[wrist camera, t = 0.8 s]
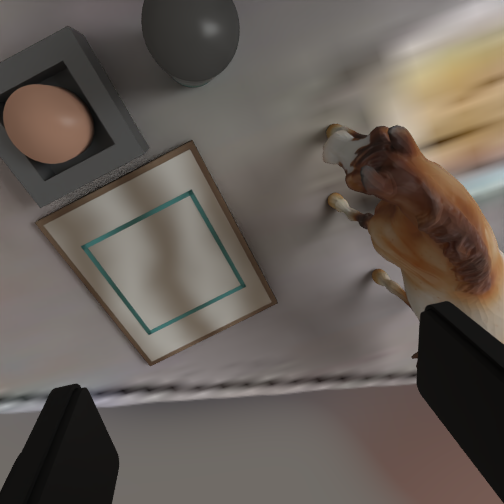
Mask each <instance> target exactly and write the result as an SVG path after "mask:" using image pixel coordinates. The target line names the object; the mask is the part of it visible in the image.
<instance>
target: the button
mask: <svg viewBox="0 0 504 504" xmlns="http://www.w3.org/2000/svg"><path fill="white" fill-rule="evenodd" d="M3 121H4V126H5V129H6V132H7V134H8V136H9V138H10V140H11V141H12V143H13V144H14V145H15V146H16V147H17V148H18V149H19V150H20V151H21V152H22V153H23V154H25V155H26V156H28V157H29V158H31V159H33V160H36V161H39V162H42V163H48V164H57V163H62V162H65V161H68V160H70V159H72V158H74V157H76V156H78V155H80V154H82V153H83V152H84V151H85V150H86V149H87V148H88V147H89V146H90V144H91V142H92V140H93V136H94V121H93V117H92V115H91V112H90V110H89V109H88V107H87V106H86V104H85V103H84V102H83V101H82V100H81V99H80V98H79V97H78V96H77V95H76V94H74V93H73V92H71V91H69V90H67V89H65V88H62V87H58V86H50V85H41V84H32V85H27V86H23V87H21V88H19V89H17V90H16V91H14V92H13V93H12V94H11V95H10V97H9V98H8V100H7V102H6V104H5V107H4V111H3Z"/></svg>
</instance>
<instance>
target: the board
mask: <svg viewBox="0 0 504 504" xmlns="http://www.w3.org/2000/svg"><path fill="white" fill-rule="evenodd" d="M35 224H36V225H37V226H38V227H39V229H40V230H41V231H42V232H43V234H44V235H45V236H46V237H47V239H48V240H49V241H50V242H51V244H52V245H53V246H54V247H55V249H56V250H57V251H58V252H59V254H60V255H61V256H62V257H63V259H64V260H65V261H66V262H67V263H68V265H69V266H70V267H71V268H72V270H73V271H74V272H75V273H76V275H77V276H78V277H79V278H80V280H81V281H82V282H83V283H84V285H85V286H86V287H87V288H88V290H89V291H90V292H91V293H92V295H93V296H94V297H95V298H96V300H97V301H98V302H99V303H100V304H101V306H102V307H103V308H104V309H105V311H106V312H107V313H108V314H109V316H110V317H111V318H112V319H113V321H114V322H115V323H116V324H117V326H118V327H119V328H120V329H121V331H122V332H123V333H124V334H125V336H126V337H127V338H128V339H129V341H130V342H131V343H132V344H133V346H134V347H135V348H136V349H137V350H138V352H139V353H140V354H141V355H142V357H143V358H144V359H145V360H146V362H147V363H148V364H149V365H150V366H152V365H154V364H156V363H158V362H160V361H162V360H164V359H166V358H168V357H170V356H172V355H174V354H176V353H178V352H180V351H182V350H184V349H186V348H188V347H190V346H192V345H194V344H196V343H198V342H200V341H202V340H204V339H206V338H208V337H210V336H213V335H215V334H217V333H219V332H221V331H223V330H225V329H227V328H229V327H231V326H233V325H235V324H237V323H239V322H241V321H243V320H245V319H247V318H249V317H251V316H253V315H255V314H257V313H259V312H261V311H263V310H265V309H267V308H269V307H271V306H273V305H275V304H277V303H278V302H277V300H276V298H275V296H274V294H273V292H272V290H271V289H270V287H269V285H268V283H267V281H266V279H265V277H264V275H263V273H262V271H261V270H260V268H259V266H258V264H257V262H256V260H255V258H254V256H253V254H252V252H251V251H250V249H249V247H248V245H247V243H246V241H245V239H244V237H243V235H242V234H241V232H240V230H239V228H238V226H237V224H236V222H235V220H234V218H233V216H232V215H231V213H230V211H229V209H228V207H227V205H226V203H225V201H224V199H223V197H222V196H221V194H220V192H219V190H218V188H217V186H216V184H215V182H214V180H213V179H212V177H211V175H210V173H209V171H208V169H207V167H206V165H205V163H204V161H203V160H202V158H201V156H200V154H199V152H198V150H197V148H196V146H195V144H194V142H193V141H192V140H191V141H189V142H187V143H185V144H183V145H181V146H179V147H178V148H176V149H174V150H172V151H170V152H168V153H166V154H164V155H162V156H160V157H158V158H156V159H155V160H153V161H151V162H149V163H147V164H145V165H143V166H141V167H139V168H137V169H135V170H133V171H132V172H130V173H128V174H126V175H124V176H122V177H120V178H118V179H116V180H114V181H112V182H110V183H108V184H107V185H105V186H103V187H101V188H99V189H97V190H95V191H93V192H91V193H89V194H87V195H85V196H84V197H82V198H80V199H78V200H76V201H74V202H72V203H70V204H68V205H66V206H64V207H62V208H61V209H59V210H57V211H55V212H53V213H51V214H49V215H47V216H45V217H43V218H41V219H39V220H38V221H37V222H35Z"/></svg>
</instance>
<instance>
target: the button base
mask: <svg viewBox="0 0 504 504" xmlns="http://www.w3.org/2000/svg"><path fill="white" fill-rule="evenodd" d="M32 84H41V85H50V86H58V87H62V88H65V89H67V90H69V91H71V92H73V93H74V94H76V95H77V96H78V97H79V98H80V99H81V100H82V101H83V102H84V103H85V104H86V106H87V107H88V109H89V110H90V112H91V115H92V117H93V121H94V136H93V140H92V142H91V144H90V146H89V147H88V148H87V149H86V150H85V151H84V152H83V153H82V154H80V155H78V156H76V157H74V158H72V159H70V160H68V161H65V162H62V163H57V164H48V163H42V162H39V161H36V160H33V159H31V158H29V157H28V156H26V155H25V154H23V153H22V152H21V151H20V150H19V149H18V148H17V147H16V146H15V145H14V144H13V143H12V141H11V140H10V138H9V136H8V134H7V132H6V129H5V126H4V121H3V111H4V107H5V104H6V102H7V100H8V98H9V97H10V95H11V94H12V93H13V92H14V91H16V90H17V89H19V88H21V87H23V86H27V85H32ZM148 149H149V146H148V145H147V143H146V141H145V140H144V138H143V136H142V135H141V133H140V131H139V129H138V128H137V126H136V124H135V123H134V121H133V119H132V117H131V116H130V114H129V112H128V111H127V109H126V107H125V106H124V104H123V102H122V100H121V99H120V97H119V95H118V94H117V92H116V90H115V88H114V87H113V85H112V83H111V82H110V80H109V78H108V77H107V75H106V73H105V71H104V70H103V68H102V66H101V65H100V63H99V61H98V59H97V58H96V56H95V54H94V53H93V51H92V49H91V47H90V46H89V44H88V42H87V41H86V39H85V37H84V36H83V34H81V33H79V32H78V31H76V30H74V29H73V28H71V27H69V26H67V27H65V28H63V29H61V30H59V31H58V32H56V33H54V34H52V35H50V36H48V37H47V38H45V39H43V40H41V41H39V42H37V43H36V44H34V45H32V46H30V47H28V48H26V49H25V50H23V51H21V52H19V53H17V54H15V55H14V56H12V57H10V58H8V59H6V60H4V61H2V62H1V63H0V157H1V158H2V160H3V161H4V162H5V163H6V165H7V166H8V167H9V169H10V170H11V171H12V172H13V174H14V175H15V176H16V178H17V179H18V180H19V181H20V183H21V184H22V185H23V186H24V188H25V189H26V190H27V192H28V193H29V194H30V195H31V197H32V198H33V199H34V201H35V202H36V203H37V204H38V206H39V207H40V208H41V207H43V206H45V205H47V204H49V203H51V202H53V201H55V200H57V199H59V198H60V197H62V196H64V195H66V194H68V193H70V192H72V191H74V190H76V189H78V188H80V187H82V186H83V185H85V184H87V183H89V182H91V181H93V180H95V179H97V178H99V177H101V176H103V175H104V174H106V173H108V172H110V171H112V170H114V169H116V168H118V167H120V166H122V165H124V164H126V163H127V162H129V161H131V160H133V159H135V158H137V157H139V156H141V155H143V154H145V152H146V151H147V150H148Z"/></svg>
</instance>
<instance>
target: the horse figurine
mask: <svg viewBox="0 0 504 504" xmlns="http://www.w3.org/2000/svg"><path fill="white" fill-rule="evenodd" d="M326 134H327V137H328V140H327V141H326V143H325V144H324V146H323V161H324V162H326V163H329V164H338V165H339V166H340V167H342V168H343V169H344V170H345V173H346V178H345V181H346V184H347V186H348V187H349V188H350V189H352V190H354V191H357V192H362V193H365V194H368V195H375V196H376V197H378V198H380V199H382V200H381V201H380V202H379V204H378V205H377V206H376V208H375V214H374V215H372V214H370V213H366V214H362V213H360V212H358V211H357V210H354V209H352V208H350V207H349V205H348V202H347V201H346V200H345V199H343V197H342V196H341V195H340V194H338V193H333V194H331V195H330V196H329V197H328V204H329V205H330V206H331V207H333V208H334V209H336V210H337V211H338V212H344V213H345V214H346V216H347V218H348V219H349V220H351V221H358V222H359V224H360V226H361V227H363V228H365V229H368V232H369V234H370V235H371V240H372V243H373V246H374V248H375V250H376V251H377V252H378V253H379V254H380V255H381V256H382V257H383V258H385V259H386V260H387V261H389V262H391V263H393V264H395V265H396V266H398V267H399V268H401V272H402V276H403V281H404V286H405V291H406V292H405V291H404V290H403V289H402V288H401V287H400V286H399V285H398V284H397V283H396V282H394V281H392V280H390V278H389V276H388V274H386V272H385V271H383V270H381V269H375V270H374V271H373V273H372V278H373V280H374V281H375V282H376V283H377V284H379V285H382V286H385V287H386V288H387V289H388V290H389V291H390V292H391V293H393V294H395V295H396V296H398V297H399V298H400V299H402V300H403V301H404V302H405V303H406V304H407V305H408V306H409V307H410V308H411V309H412V310H413V311H414V313H415V315H416V316H417V318H418V319H419V321H420V314H421V312H423V311H424V310H425V307H426V306H427V305H430V304H435V303H439V302H444V301H449V302H451V303H452V304H454V305H455V306H456V307H457V308H459V309H460V310H461V311H462V312H464V313H465V314H466V315H467V316H469V317H470V318H471V319H472V320H474V321H475V322H476V323H478V324H479V325H480V326H481V327H483V328H484V329H485V330H486V331H488V332H489V333H490V334H491V335H493V336H494V337H495V338H496V339H498V340H499V341H500V342H501V343H503V344H504V254H503V253H502V252H501V251H500V250H499V249H498V244H497V241H496V238H495V236H494V233H493V231H492V229H491V227H490V225H489V223H488V222H487V220H486V218H485V217H484V215H483V214H482V212H481V210H480V208H479V206H478V204H477V203H476V202H475V200H474V199H473V198H472V196H471V195H470V194H469V192H468V191H467V190H466V189H465V187H464V186H463V185H462V184H461V183H460V182H459V181H458V180H457V179H455V178H454V177H453V176H452V175H451V174H450V173H448V172H447V171H446V170H445V169H444V168H442V167H441V166H440V165H439V164H437V163H435V162H431V161H429V160H428V159H426V158H425V157H424V156H423V154H422V153H421V152H420V150H419V148H418V146H417V145H416V143H415V141H414V139H413V137H412V136H411V134H410V133H409V132H408V130H407V129H406V128H404V127H401V126H398V125H396V126H393V127H391V128H388V127H386V126H380V127H376V128H375V129H374V130H372V131H371V133H370V134H369V135H368V136H367V135H362V134H359V133H357V132H355V131H353V130H351V129H349V128H348V127H346V126H343V127H342V126H341V125H339V124H332V125H330V126H329V127H328V129H327V131H326ZM414 358H418V352H417V353H415V354H414V355H413V356H412V359H414ZM417 364H418V361H417ZM416 367H417V365H416Z"/></svg>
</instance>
